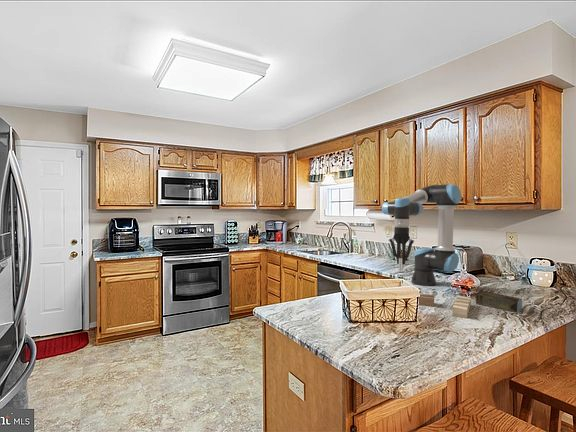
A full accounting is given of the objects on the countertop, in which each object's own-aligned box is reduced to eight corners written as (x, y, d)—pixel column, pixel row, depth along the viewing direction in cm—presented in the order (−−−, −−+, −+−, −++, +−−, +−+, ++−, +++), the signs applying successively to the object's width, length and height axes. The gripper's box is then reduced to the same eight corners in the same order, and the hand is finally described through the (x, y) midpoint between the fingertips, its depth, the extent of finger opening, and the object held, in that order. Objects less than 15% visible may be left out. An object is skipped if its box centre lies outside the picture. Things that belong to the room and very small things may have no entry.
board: (457, 303, 178) (458, 295, 177) (470, 305, 174) (470, 297, 174) (452, 315, 157) (452, 307, 157) (466, 318, 154) (467, 309, 154)
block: (413, 301, 181) (414, 293, 181) (434, 303, 177) (434, 295, 177) (413, 304, 175) (413, 296, 175) (434, 307, 171) (434, 298, 171)
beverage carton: (517, 313, 162) (517, 300, 162) (474, 304, 176) (475, 292, 176) (522, 310, 167) (522, 297, 167) (480, 301, 182) (480, 289, 181)
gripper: (387, 226, 182) (386, 269, 182) (413, 227, 175) (412, 272, 175) (391, 225, 188) (390, 267, 189) (416, 226, 181) (415, 270, 182)
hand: (400, 270), depth 182 cm, fingers closed
